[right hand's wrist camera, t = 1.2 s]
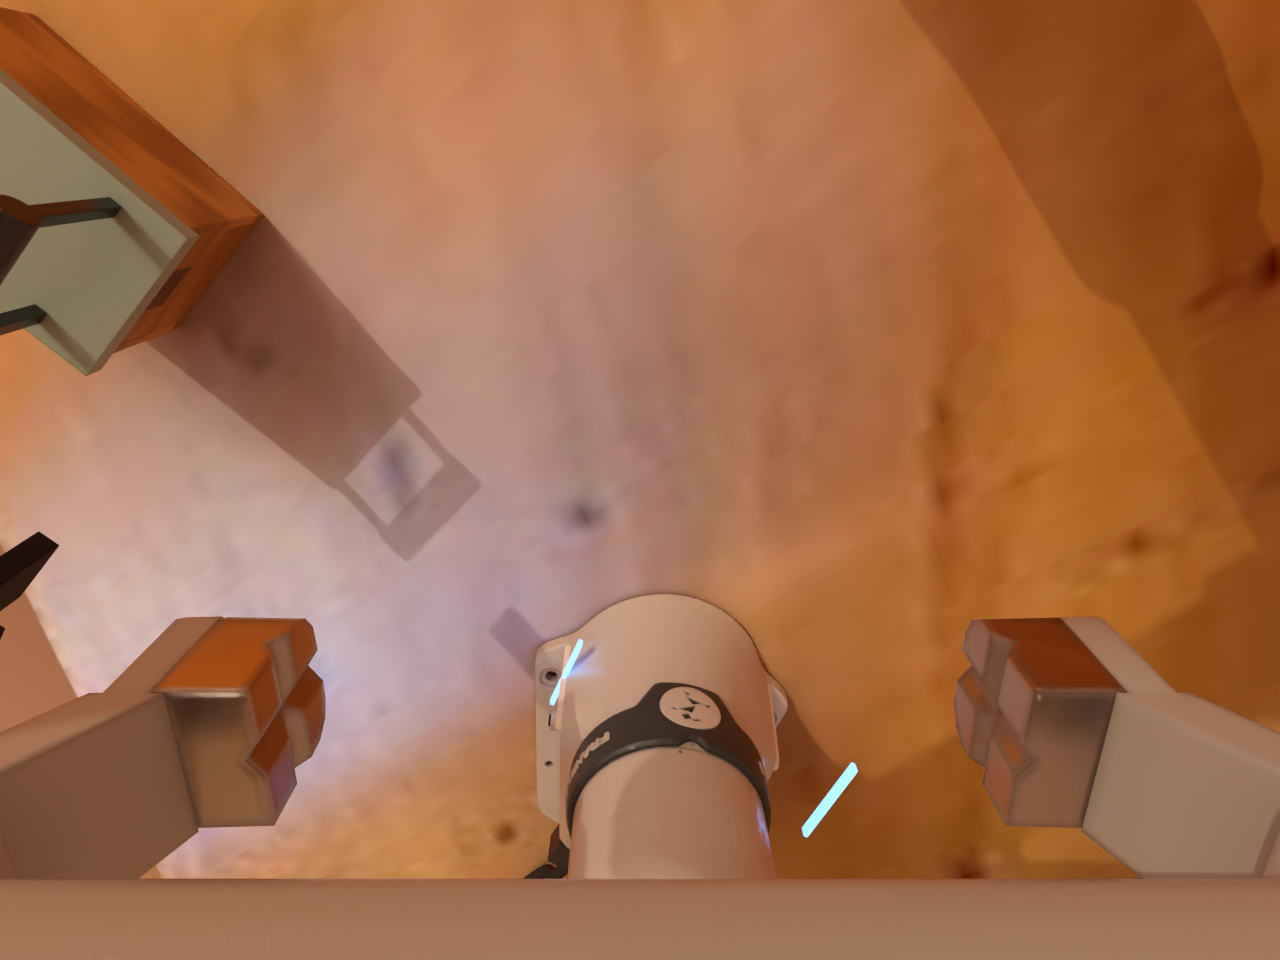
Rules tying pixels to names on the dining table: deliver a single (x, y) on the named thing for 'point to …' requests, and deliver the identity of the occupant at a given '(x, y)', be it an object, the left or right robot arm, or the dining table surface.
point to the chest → (133, 161)
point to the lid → (75, 237)
